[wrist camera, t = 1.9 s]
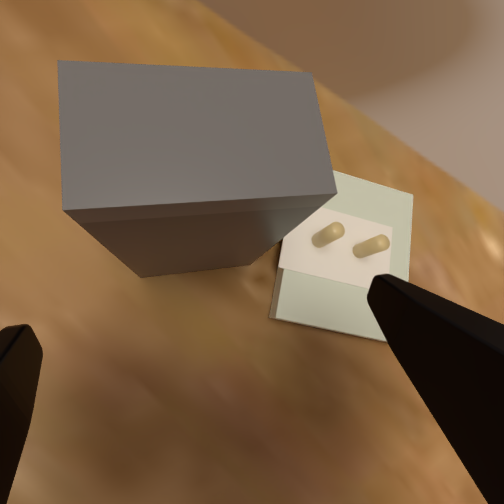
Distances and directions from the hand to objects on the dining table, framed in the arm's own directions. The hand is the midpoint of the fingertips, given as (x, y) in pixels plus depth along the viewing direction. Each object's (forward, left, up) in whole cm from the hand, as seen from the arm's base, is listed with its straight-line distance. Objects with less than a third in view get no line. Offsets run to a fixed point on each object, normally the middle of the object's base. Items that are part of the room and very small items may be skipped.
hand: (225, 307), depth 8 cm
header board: (-1, -11, -11) cm, 15 cm away
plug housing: (+4, -2, -11) cm, 12 cm away
